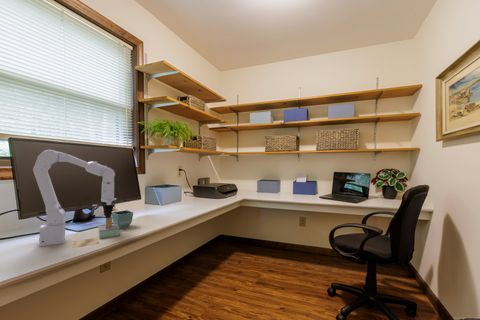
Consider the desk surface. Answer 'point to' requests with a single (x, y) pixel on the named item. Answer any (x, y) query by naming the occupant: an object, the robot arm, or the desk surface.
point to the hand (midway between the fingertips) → (107, 216)
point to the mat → (85, 242)
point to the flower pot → (122, 218)
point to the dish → (109, 233)
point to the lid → (108, 225)
